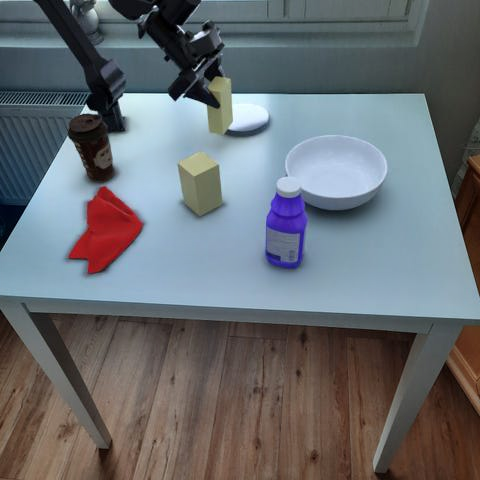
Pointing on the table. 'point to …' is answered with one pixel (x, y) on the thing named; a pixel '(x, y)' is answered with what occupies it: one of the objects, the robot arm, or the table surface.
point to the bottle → (286, 225)
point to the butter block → (200, 183)
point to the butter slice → (224, 115)
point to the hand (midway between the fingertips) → (224, 100)
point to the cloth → (106, 230)
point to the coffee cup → (92, 146)
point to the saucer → (248, 120)
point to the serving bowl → (337, 171)
